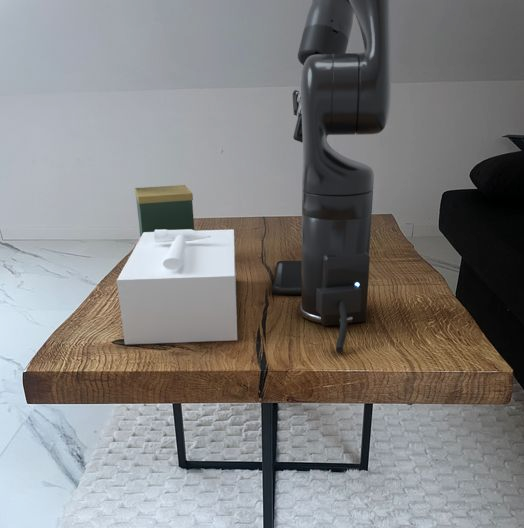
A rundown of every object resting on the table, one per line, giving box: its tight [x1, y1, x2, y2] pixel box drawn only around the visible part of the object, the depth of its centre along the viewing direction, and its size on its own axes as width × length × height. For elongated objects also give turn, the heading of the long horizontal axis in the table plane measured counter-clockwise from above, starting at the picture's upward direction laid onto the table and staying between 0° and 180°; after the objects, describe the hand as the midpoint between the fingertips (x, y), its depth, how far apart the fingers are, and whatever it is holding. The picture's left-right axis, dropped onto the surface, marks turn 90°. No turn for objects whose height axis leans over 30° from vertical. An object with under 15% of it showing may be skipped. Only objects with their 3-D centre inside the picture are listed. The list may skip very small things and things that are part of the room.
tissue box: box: [116, 228, 238, 345], centre depth 87 cm, size 14×25×11 cm, turn 3°
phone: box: [272, 260, 301, 296], centre depth 100 cm, size 8×1×15 cm
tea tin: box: [134, 184, 195, 239], centre depth 109 cm, size 9×9×13 cm
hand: (300, 140), depth 99 cm, fingers closed
